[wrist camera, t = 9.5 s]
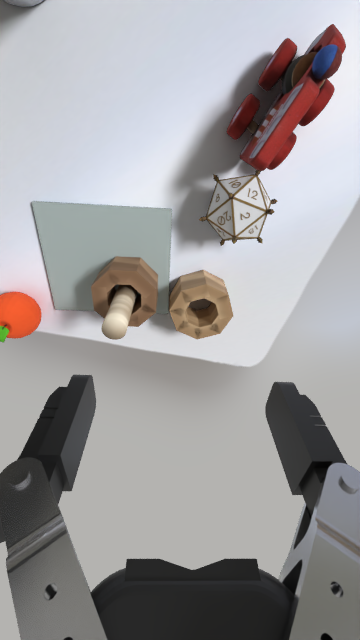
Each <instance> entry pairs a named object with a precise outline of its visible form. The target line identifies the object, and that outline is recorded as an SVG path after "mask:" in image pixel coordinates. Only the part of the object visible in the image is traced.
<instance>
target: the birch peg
mask: <svg viewBox="0 0 360 640" xmlns="http://www.w3.org/2000/svg"><path fill="white" fill-rule="evenodd" d="M136 294H137V290H136V289H135V288H134V287H132V286H131V285H120V284H119V286H118V289H117V291H116V293H115V296H114V298H113V301H112V303H111V305H110V308H109V310H108V312H107V315H106V317H105V320H104V322H103V324H102V332H103V334H104V335H105V336H106V337H108V338H110V339H121V338H122V337H124V336H125V334H126V331H127V327H128V324H129V320H130V316H131V313H132V309H133V305H134V302H135V298H136Z"/></svg>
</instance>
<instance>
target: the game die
mask: <svg viewBox="0 0 360 640" xmlns="http://www.w3.org/2000/svg"><path fill="white" fill-rule="evenodd" d="M260 172H261V171H259V170H256V173H255V174H254V175H248V176H242V177H236V178H229V179H223V180H219V177H218V176H217V175H214V174H213V177H214V180H215V181H217V184H216V187H215V190H214V193H213V196H212V199H211V202H210V205H209V208H208V212H207V215H206V217H204V216H203V217H201V218H200V219H199V220H200V221H202V222H203V221H205V220H207V221H208V222H209V223H210V224H211V226H212V227H213V228H214V229H215V231H216V232H217V233H218V234H219V236H220V237H221V238H222V241H221V242H220V244H221V246H222V245H224V243H225V241H227V240H232V242H233V243H235V242H237V240H241V239H255V238H257V241H258V242H260V243H262V240H263V239H261V238H260V237H259V236H260V233H261V230H262V228H263V225H264V222H265V220H266V217H267V214H272V213H274V211H273V209H269V208H270V205H271V204H275V203H276V202H277V200H275V199H274V200H273V199H272V200H271V201H270V199H269V197H268V195H267V193H266V191H265V189H264V187H263V185H262V183H261V181H260V179H259V177H258V175H259V174H260Z"/></svg>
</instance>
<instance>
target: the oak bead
mask: <svg viewBox="0 0 360 640" xmlns="http://www.w3.org/2000/svg"><path fill="white" fill-rule="evenodd" d="M203 298H205V299H207V300H209V301H211V302H212V303H211V304H210V306H209V307H208V308H205V309H201V310H195V309H193V308H190V307H188V306H189V304H190V302H192V301H195V300H199V299H203ZM169 311H170V314H171V317H172V319H173V322H174V325H175V327H176V330H177V331H179V332H181V333H184V334H186V335H188V336H191V337H193V338H195V339H200V338H204V337H208V336H212V335H216V334H220V333H221V332H222V330H223V329H224V328H225V326H226V325H227V324H228V322H229V321H230V320H231V318H232V317H233V312H232V308H231V304H230V299H229V295H228V292H227V289H226V287H225V284H224V281H223V280H222V279H220V278H218V277H216V276H214V275H212V274H211V273H209V272H207V271H205V270H201V271H197V272H194V273H190V274H187V275H183V276H180V278H179V280H178V282H177V283H176V285H175V287H174V288H173V290H172V292H171V294H170V305H169Z"/></svg>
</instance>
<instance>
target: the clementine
mask: <svg viewBox="0 0 360 640" xmlns="http://www.w3.org/2000/svg"><path fill="white" fill-rule="evenodd" d="M40 321H41V309H40V307H39V305H38V304H37V302H36V301H35V300H34V299H33V298H31V297H30V296H28V295H26V294H23V293H20V292H10V293H4V294H2V295H0V341H1V342H4V341H5V338H6V337H7V338H22V337H24V336H27V335H30V334H31V333H32V332H33V331H35V330H36V329H37V327H38V325H39V323H40Z"/></svg>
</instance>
